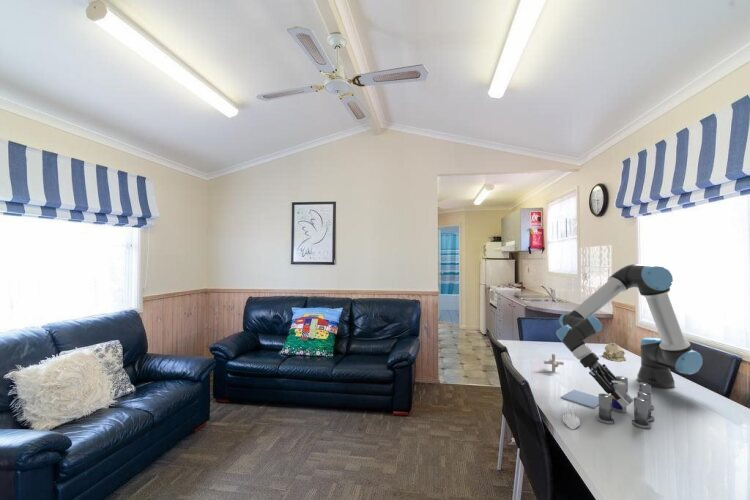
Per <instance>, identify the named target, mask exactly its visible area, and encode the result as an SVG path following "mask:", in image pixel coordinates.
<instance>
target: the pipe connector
mask: <svg viewBox="0 0 750 500" xmlns="http://www.w3.org/2000/svg"><path fill="white" fill-rule="evenodd" d="M543 363H544V365H551V372H552V373H556V368H558V367H559V365H560V366H564V365H565V363H564V361H557V360H556V354H555V353H551V358H549V360H543Z"/></svg>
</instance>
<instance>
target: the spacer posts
mask: <svg viewBox="0 0 750 500" xmlns="http://www.w3.org/2000/svg"><path fill="white" fill-rule="evenodd" d="M615 377H616V378H617V379H618V380H619V381H622V382H624V383H625V384H626V392H627V393H628V394H629V392H628V391H629V389H628V388H629V382H628V379H629V378H628V377H626V376H624V375H623V376H622V375H615ZM637 385H638V391H637V393H636V394H637V396H634V397H633V400H634V401H633V417H634V418H633V419H632V420H631V425H633V426H635V427H636V428H639V429H645V430H650V429H652V424H651V423H652V422H654V421H655V418H654V416H653V415H652V411H654V410H655V407H654V405H652V386H651V385H650V384H648V383H642V382H640V381H639V382H638V384H637ZM598 397H599V406H598V415H596V421H598V422H600V423H601V424H606V425H614V424H615V419H614V418H613V410H612V397H611V394H607V393H599V394H598Z"/></svg>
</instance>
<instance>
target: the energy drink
mask: <svg viewBox="0 0 750 500" xmlns="http://www.w3.org/2000/svg"><path fill="white" fill-rule="evenodd" d="M611 385H612V387H613V388H614V389H615V391H616V390H617V391H618V392H619V393H620V395H621V396H622V397H623V398H624V399H625V400H626V384H625V383H624V382H622V381H618V380H612V381H611ZM610 396H611V397H612V411H614V412H617V413H620V414H621V413H622V414H624V413H626V412H627V406H626V407H624V408H623V407H622V406H621V405H620V404H619V402H618V401H617V400H616V399H615V398H614V397H613V396H612V394H611V393H610Z"/></svg>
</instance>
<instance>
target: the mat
mask: <svg viewBox="0 0 750 500" xmlns="http://www.w3.org/2000/svg"><path fill="white" fill-rule="evenodd" d="M560 399H561V400H566V401H569V402H570V403H573V404H574V403H576V404H578V405H581V406H583V407H586V408H589V409H596V408H599V396H597V395H594V394H591V393H588V392H587V393H586V392H584V391H580V390H577V389H572V390H570V391H568V392H567V393H565V394H563V395H561V396H560Z"/></svg>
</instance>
